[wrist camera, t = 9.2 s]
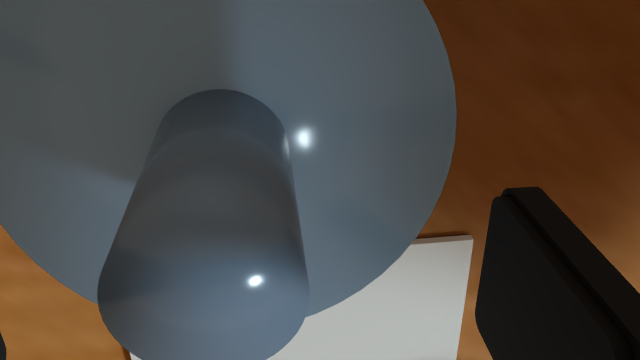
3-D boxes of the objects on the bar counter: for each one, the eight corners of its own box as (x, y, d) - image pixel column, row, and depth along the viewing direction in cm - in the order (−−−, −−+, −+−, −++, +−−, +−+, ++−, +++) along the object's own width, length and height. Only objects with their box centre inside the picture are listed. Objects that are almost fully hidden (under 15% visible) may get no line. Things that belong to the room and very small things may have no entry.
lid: (475, -123, 13) (669, -137, 7) (427, 299, 19) (507, 486, 13) (-110, -120, 12) (-495, -131, 6) (43, 330, 18) (-62, 553, 12)
